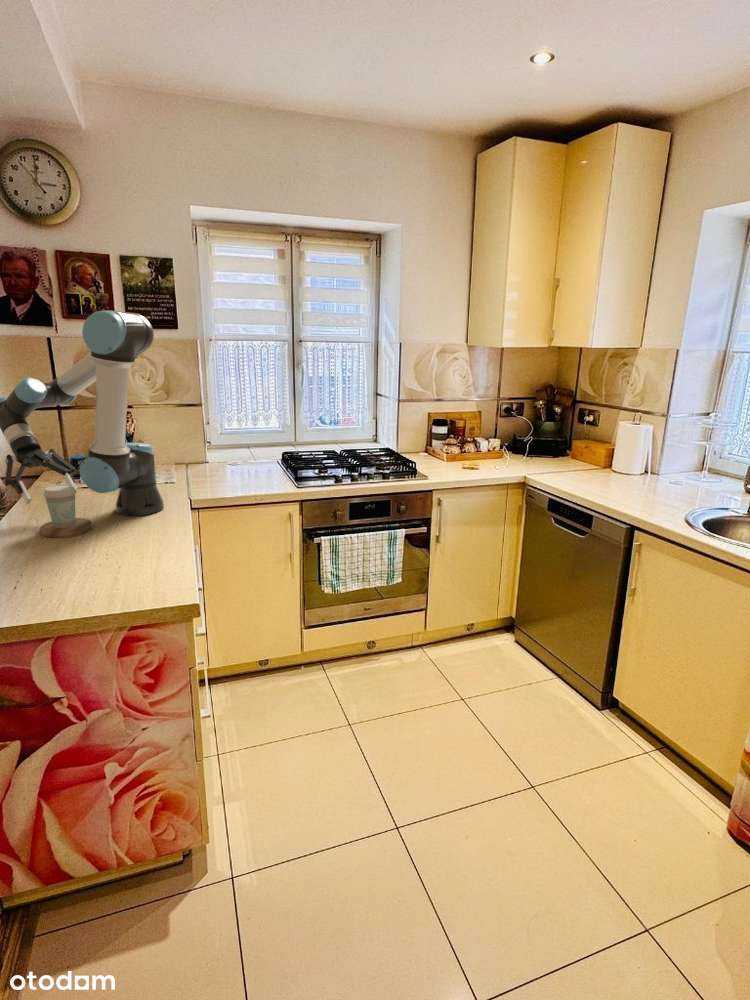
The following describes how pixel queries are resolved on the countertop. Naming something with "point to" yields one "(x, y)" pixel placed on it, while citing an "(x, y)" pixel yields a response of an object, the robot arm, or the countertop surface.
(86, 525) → the walnut trivet
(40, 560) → the countertop surface
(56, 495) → the coffee cup
